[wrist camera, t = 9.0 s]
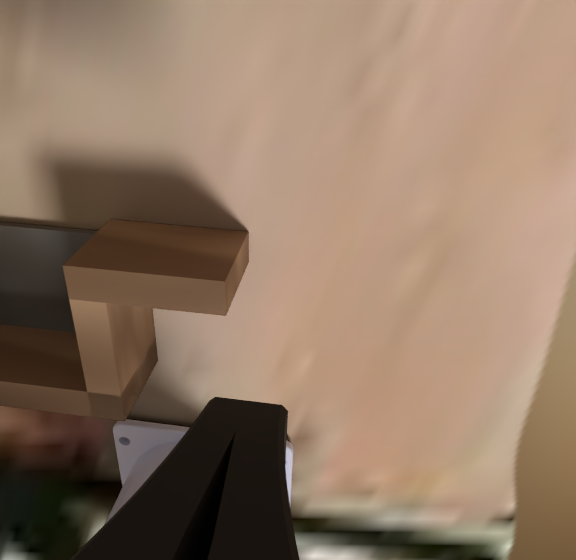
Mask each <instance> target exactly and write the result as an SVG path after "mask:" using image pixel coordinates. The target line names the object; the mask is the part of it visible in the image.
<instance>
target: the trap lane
mask: <svg viewBox="0 0 576 560" xmlns="http://www.w3.org/2000/svg"><path fill="white" fill-rule="evenodd" d="M248 262H249V232H247V231H236V230H225V229H214V228H203V227H191V226H180V225H169V224H158V223H147V222H136V221H125V220H114V219H110V220H109V221H108V222H107V223H106V224H105V225H104V226H103V227H102V228H101V229H100V230H99V231H96V230H86V229H75V228H64V227H53V226H42V225H31V224H21V223H10V222H0V406H7V407H15V408H23V409H31V410H39V411H46V412H54V413H62V414H70V415H77V416H85V417H93V418H101V419H109V420H116V421H124V422H125V420H126V418H127V416H128V414H129V412H130V411H131V409H132V407H133V405H134V403H135V401H136V400H137V398H138V396H139V394H140V392H141V391H142V389H143V387H144V385H145V383H146V381H147V380H148V378H149V376H150V374H151V372H152V370H153V369H154V367H155V365H156V363H157V361H158V357H157V348H156V338H155V329H154V320H153V310H152V308H157V309H167V310H176V311H186V312H195V313H204V314H214V315H223V316H226V314H227V312H228V309H229V307H230V305H231V302H232V300H233V298H234V295H235V293H236V291H237V288H238V286H239V284H240V281H241V279H242V276H243V274H244V272H245V269H246V267H247V265H248Z"/></svg>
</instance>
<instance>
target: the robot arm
mask: <svg viewBox="0 0 576 560" xmlns="http://www.w3.org/2000/svg"><path fill="white" fill-rule="evenodd" d="M287 418H288V411H287V410H286V409H285V408H284V407H283V406H282V405H277V404H269V403H261V402H253V401H244V400H236V399H228V398H220V397H215V398H213V399H212V400H210V401H209V402H208V404H207V405H206V407H205V408H204V409H203V411H202V412H201V413H200V415H199V416H198V418H197V419H196V420H195V422H194V423H193V424H192V426H191V427H183V426H175V425H168V424H160V423H152V422H144V421H136V420H129V419H126V420H125V422H124V421H117V422H116V423H115V425H114V427H113V435H114V441H115V447H116V452H117V458H118V464H119V470H120V476H121V481H122V489H121V491H120V494H119V496H118V498H117V500H116V502H115V504H114V506H113V508H112V510H111V512H110V514H109V516H108V518H107V520H106V523H105V525H104V526H103V527H102V528H101V529H100V530H99V531H98V532H97V533H96V534H95V535H94V536H93V537H92V538H91V539H90V540H89V541H88V542H87V543H86V544H85V545H84V546H83V547H82V548H81V549H80V550H79V551H78V552H77V553H76V554H75V555H74V556H73V557H72V558H70V559H69V560H299V555H298V550H297V545H296V540H295V535H294V529H293V523H292V517H291V510H290V503H291V485H292V466H293V445H292V444H291V443H290V442H288V441H287ZM125 437H126V438H125ZM127 438H128V439H127Z"/></svg>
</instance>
